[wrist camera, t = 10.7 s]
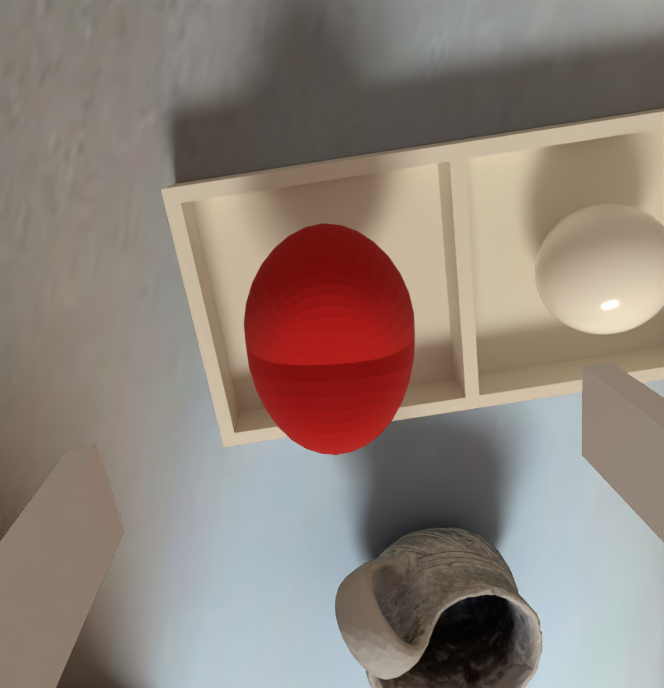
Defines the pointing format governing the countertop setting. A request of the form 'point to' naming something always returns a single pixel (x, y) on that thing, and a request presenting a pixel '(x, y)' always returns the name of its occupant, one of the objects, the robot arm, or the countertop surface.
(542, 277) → the egg
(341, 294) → the red rounded piece
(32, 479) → the countertop surface
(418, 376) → the tray
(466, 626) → the mug
